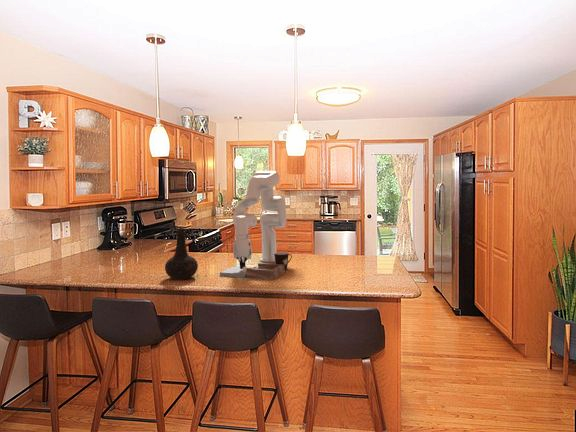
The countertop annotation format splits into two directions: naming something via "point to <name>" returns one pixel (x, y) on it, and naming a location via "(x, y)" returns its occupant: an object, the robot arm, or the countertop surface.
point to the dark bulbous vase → (181, 260)
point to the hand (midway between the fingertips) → (242, 268)
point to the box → (265, 271)
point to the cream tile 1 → (249, 267)
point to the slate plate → (234, 272)
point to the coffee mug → (282, 259)
